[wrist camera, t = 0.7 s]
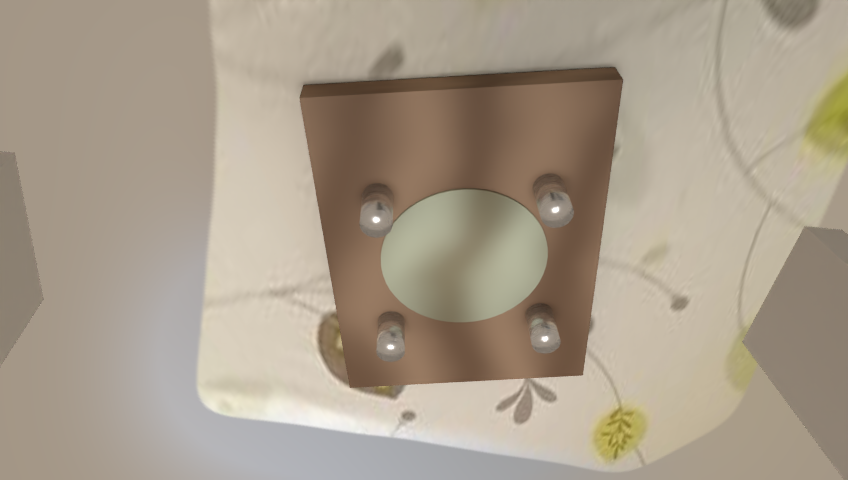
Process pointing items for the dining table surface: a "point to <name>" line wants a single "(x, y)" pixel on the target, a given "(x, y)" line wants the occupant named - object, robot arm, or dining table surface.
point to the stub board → (463, 220)
